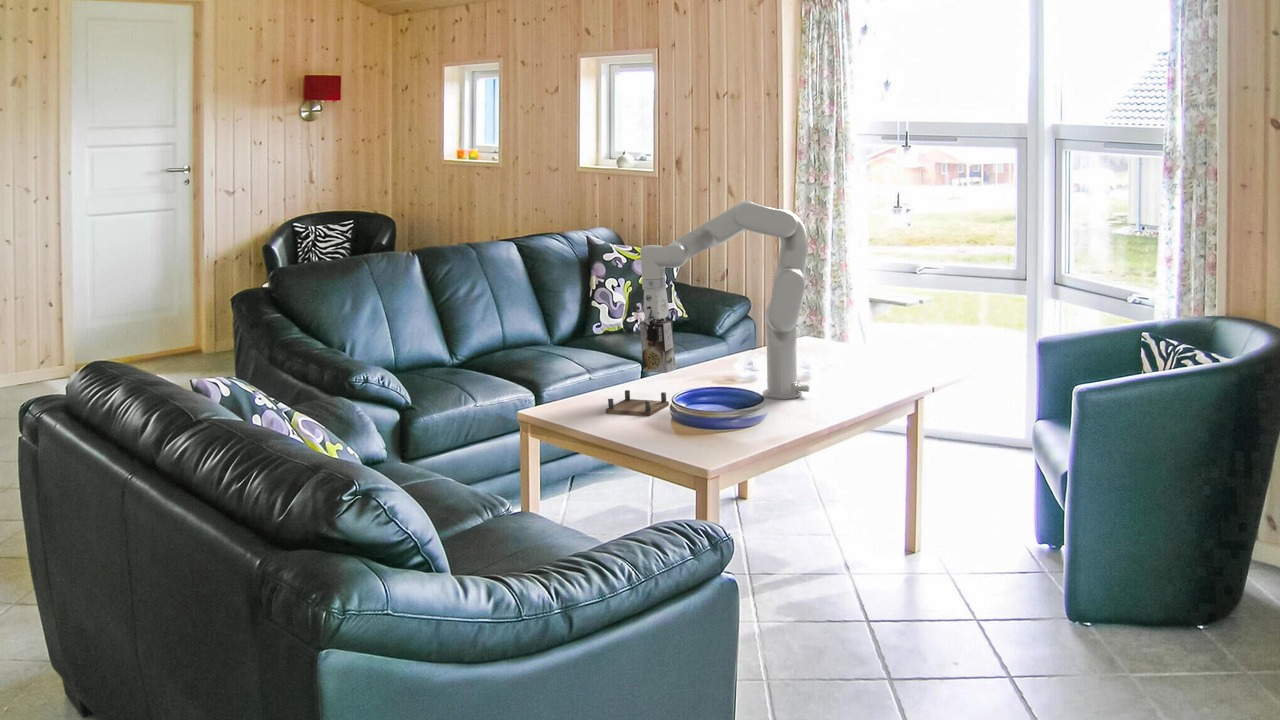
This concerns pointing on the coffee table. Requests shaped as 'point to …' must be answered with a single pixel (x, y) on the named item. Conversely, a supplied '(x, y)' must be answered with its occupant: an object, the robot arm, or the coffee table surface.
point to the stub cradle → (637, 405)
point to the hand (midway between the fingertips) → (657, 338)
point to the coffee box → (658, 348)
